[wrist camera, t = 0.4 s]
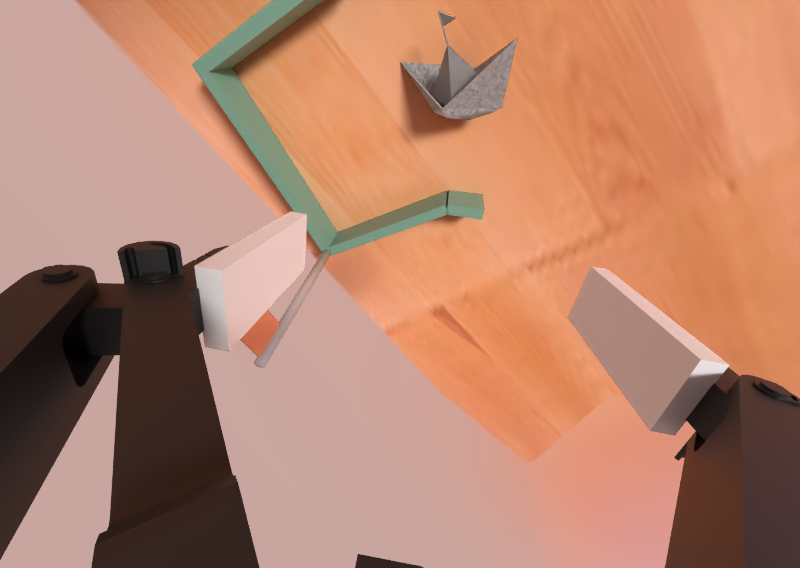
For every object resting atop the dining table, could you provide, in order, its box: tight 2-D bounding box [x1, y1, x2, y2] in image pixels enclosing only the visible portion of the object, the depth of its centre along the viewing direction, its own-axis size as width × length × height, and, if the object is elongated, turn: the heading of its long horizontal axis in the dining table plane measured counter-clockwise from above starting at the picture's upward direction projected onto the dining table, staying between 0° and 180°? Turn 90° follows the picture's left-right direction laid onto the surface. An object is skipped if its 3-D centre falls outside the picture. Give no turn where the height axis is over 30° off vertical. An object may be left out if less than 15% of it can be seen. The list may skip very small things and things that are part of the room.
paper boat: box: [401, 11, 517, 120], centre depth 29 cm, size 12×6×9 cm
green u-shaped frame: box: [192, 0, 484, 368], centre depth 27 cm, size 21×27×22 cm
